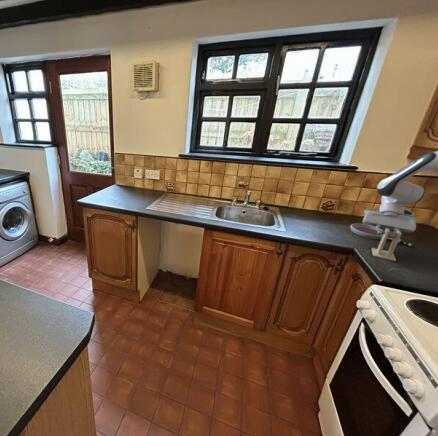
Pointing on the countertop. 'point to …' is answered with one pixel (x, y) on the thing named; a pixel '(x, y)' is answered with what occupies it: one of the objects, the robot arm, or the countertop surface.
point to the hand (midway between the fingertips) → (385, 235)
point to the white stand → (389, 253)
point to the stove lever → (392, 234)
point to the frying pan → (369, 232)
